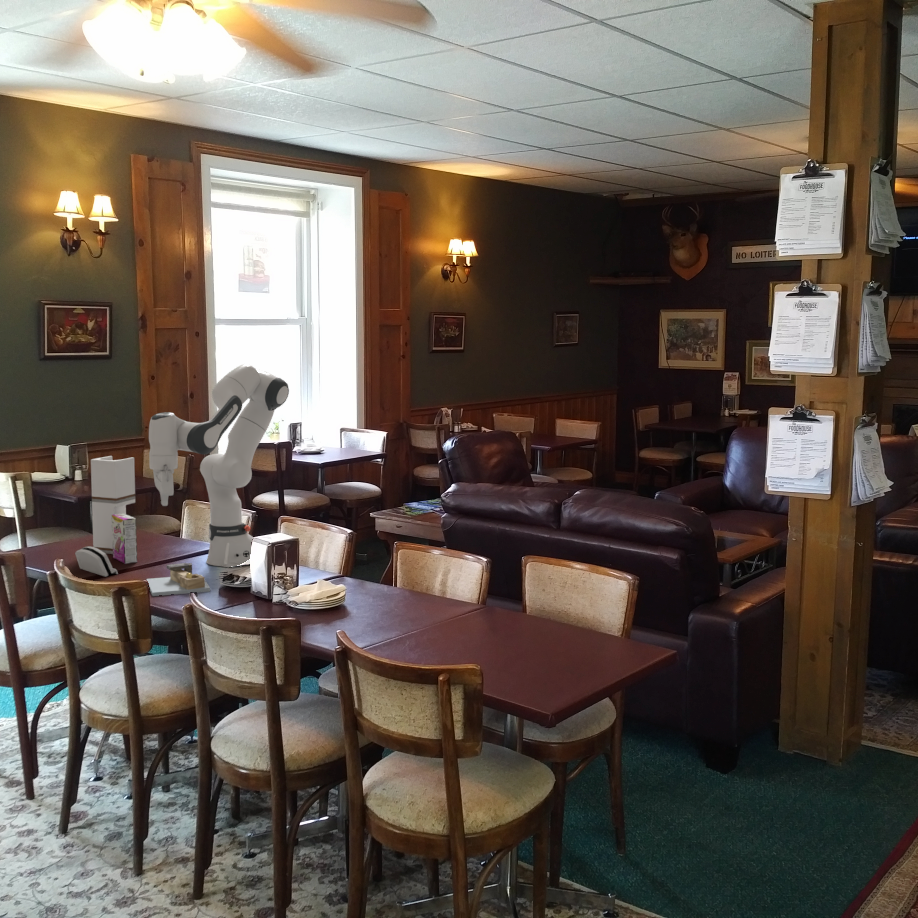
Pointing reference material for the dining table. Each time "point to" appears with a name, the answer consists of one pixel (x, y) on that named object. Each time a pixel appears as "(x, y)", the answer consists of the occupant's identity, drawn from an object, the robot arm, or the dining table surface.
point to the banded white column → (110, 496)
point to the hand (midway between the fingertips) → (164, 505)
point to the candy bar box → (124, 538)
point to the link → (187, 579)
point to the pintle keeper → (185, 566)
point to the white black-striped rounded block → (94, 561)
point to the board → (171, 587)
